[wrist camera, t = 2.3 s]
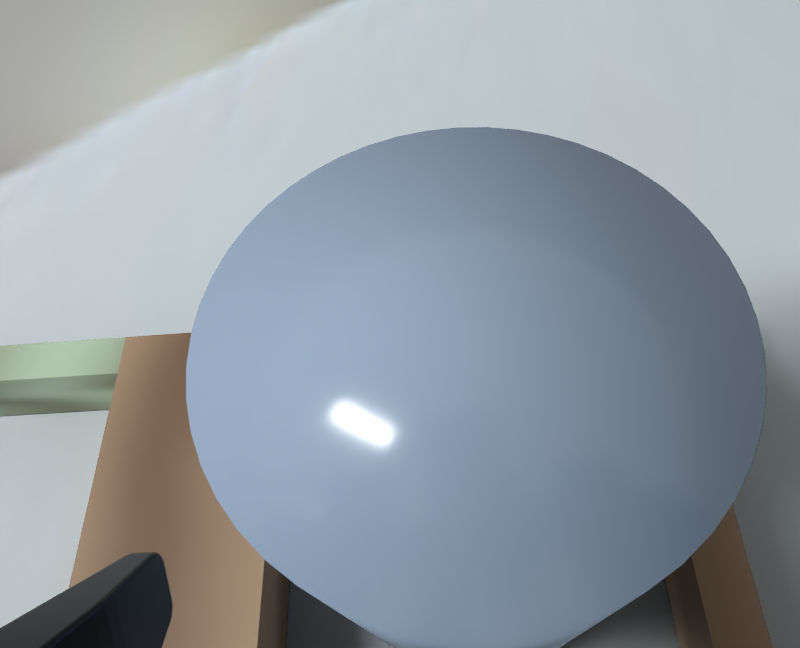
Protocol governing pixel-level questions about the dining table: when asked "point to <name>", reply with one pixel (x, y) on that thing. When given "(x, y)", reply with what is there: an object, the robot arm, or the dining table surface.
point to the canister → (476, 387)
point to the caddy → (212, 528)
